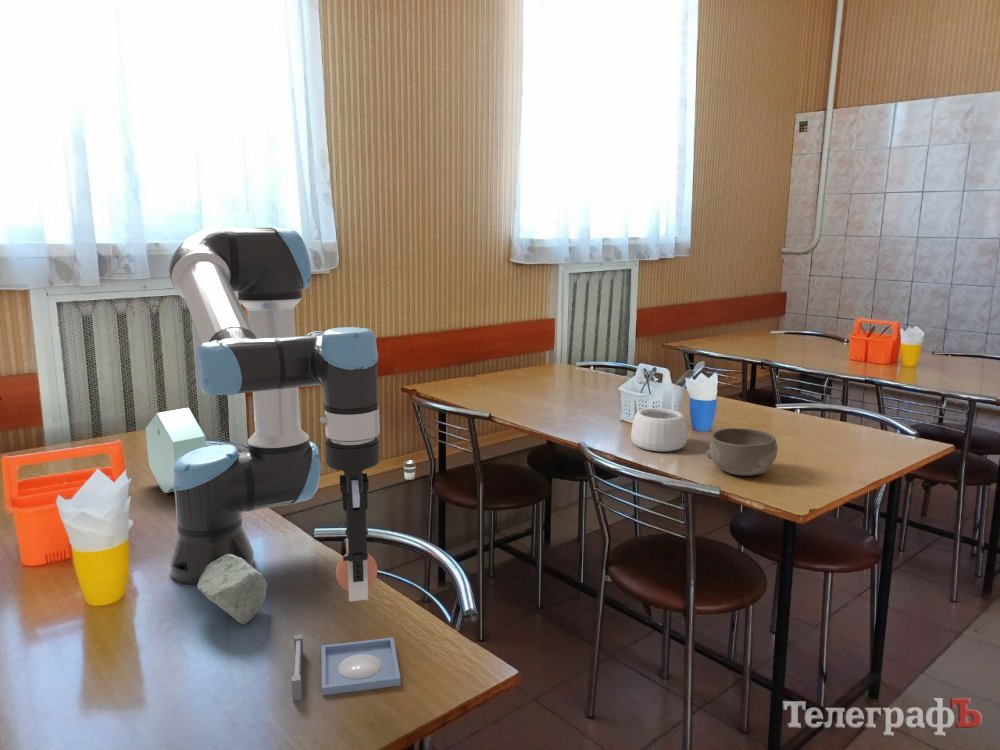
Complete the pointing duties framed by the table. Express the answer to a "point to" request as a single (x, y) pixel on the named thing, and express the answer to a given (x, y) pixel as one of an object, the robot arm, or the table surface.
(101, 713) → the table surface
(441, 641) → the table surface
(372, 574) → the ball
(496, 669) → the table surface
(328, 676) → the dish
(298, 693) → the fence
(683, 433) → the white faceted pot
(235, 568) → the decorative stone
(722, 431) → the bowl
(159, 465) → the pale green faceted block
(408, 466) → the coffee cup
